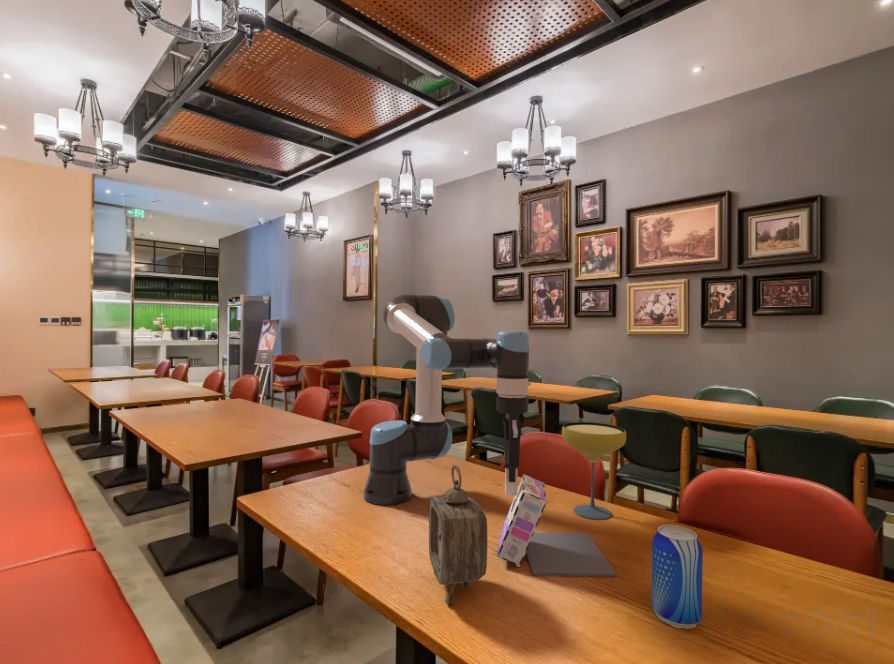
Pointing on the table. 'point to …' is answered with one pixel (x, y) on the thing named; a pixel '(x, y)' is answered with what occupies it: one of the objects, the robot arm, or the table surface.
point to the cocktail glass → (593, 453)
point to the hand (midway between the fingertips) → (511, 494)
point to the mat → (567, 556)
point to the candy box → (522, 520)
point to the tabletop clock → (457, 537)
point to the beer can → (677, 576)
